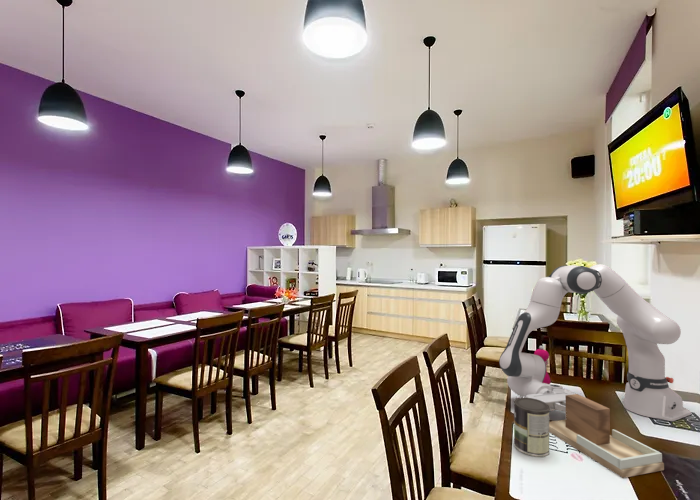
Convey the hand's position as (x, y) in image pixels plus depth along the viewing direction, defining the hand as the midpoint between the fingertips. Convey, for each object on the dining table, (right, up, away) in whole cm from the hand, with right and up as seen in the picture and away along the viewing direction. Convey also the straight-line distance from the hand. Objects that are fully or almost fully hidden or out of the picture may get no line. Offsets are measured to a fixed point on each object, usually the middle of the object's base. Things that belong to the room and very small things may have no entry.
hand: (571, 410), depth 125 cm
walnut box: (+1, -5, -6) cm, 8 cm away
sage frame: (+4, -5, -16) cm, 17 cm away
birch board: (+2, -7, -9) cm, 12 cm away
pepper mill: (+10, -8, +38) cm, 40 cm away
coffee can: (-19, -8, -10) cm, 23 cm away
